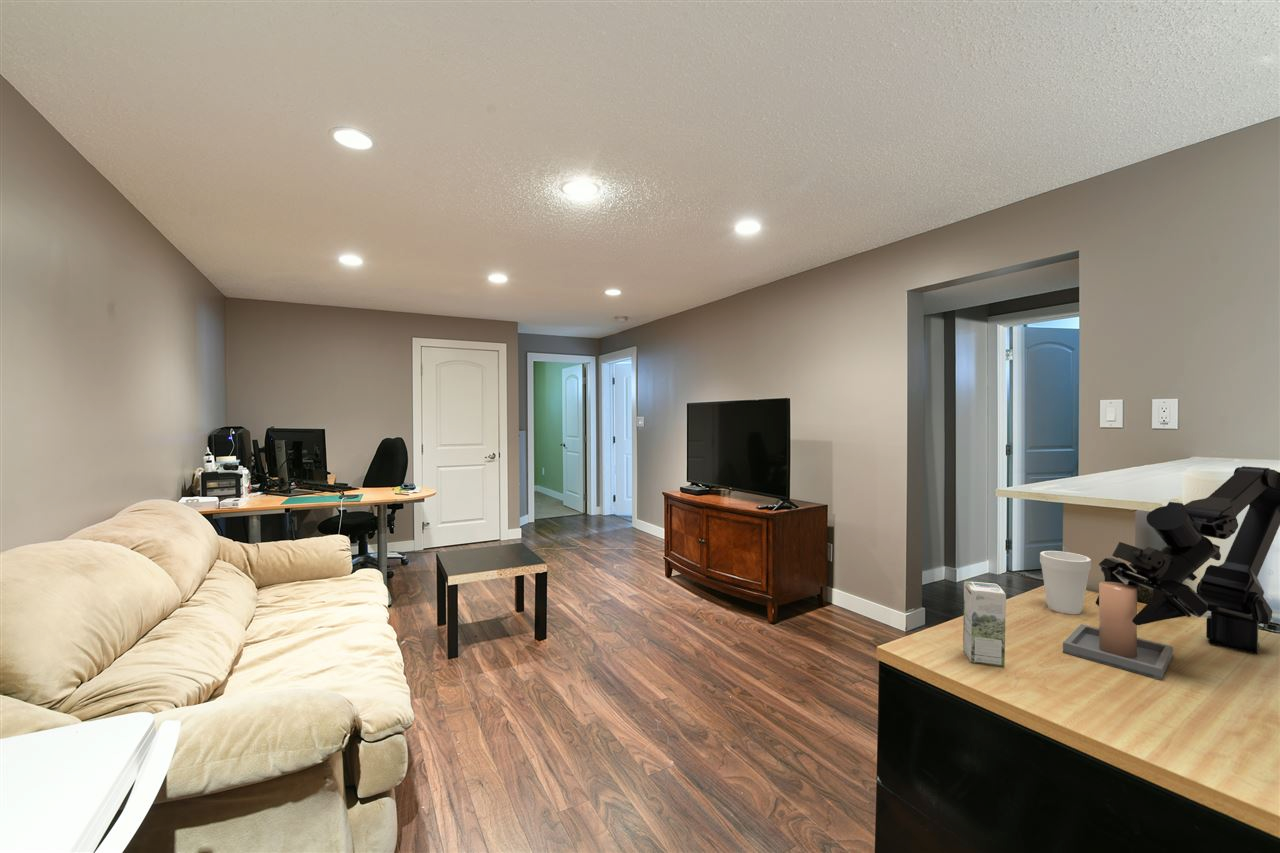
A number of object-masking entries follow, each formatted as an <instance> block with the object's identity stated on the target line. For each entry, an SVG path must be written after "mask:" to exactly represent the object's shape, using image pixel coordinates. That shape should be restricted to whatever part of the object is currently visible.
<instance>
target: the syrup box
mask: <svg viewBox="0 0 1280 853" xmlns="http://www.w3.org/2000/svg"><path fill="white" fill-rule="evenodd" d="M1006 610H1007V594H1006V593H1005V591H1004V590H1003V589H1002V587H1001V586H999V585H998V584H997V583H991V582H990V583H989V582H982V581H981V582H980V581H979V582H978V581H969V580H965V581H963V631H962V632H963V633H962V634H963V635H962V636H963V637H962V641H963V642H962V643H963V644H962V649H963V651H964V653H965V655H966V656H967V659H969V661H970V663H972V664H973V663H974V664H981V665H986V666H988V665H989V666H996V667H1005V665H1006V663H1005V662H1006V657H1005V655H1006V618H1007V615H1006V614H1007V612H1006Z"/></svg>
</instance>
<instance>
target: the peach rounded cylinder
mask: <svg viewBox="0 0 1280 853" xmlns="http://www.w3.org/2000/svg"><path fill="white" fill-rule="evenodd" d="M1098 583H1099V584H1098V585H1099V586H1098V596H1099V606H1098V628H1099V648H1100V649H1101V650H1102V651H1104V652H1107V653H1110V654H1114V655H1118V656H1122V657H1125V658H1134V657H1137V638H1138V625H1135V624H1134V623H1133V622H1132V620H1133V619H1134V617H1135V616H1136V615H1137V614H1138V587H1137V588H1135V587H1133V586H1131V585H1127V584H1123V583H1117V582H1104V581H1100V582H1098Z"/></svg>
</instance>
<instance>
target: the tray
mask: <svg viewBox="0 0 1280 853" xmlns="http://www.w3.org/2000/svg"><path fill="white" fill-rule="evenodd" d="M1062 653H1063V654H1067V655H1071V656H1074V657H1076V658H1077V657H1078V658H1082V659H1085V660H1089V661H1092V662H1095V663H1098V664H1103V665H1106V666H1110V667H1114V668H1117V669H1120V670H1124V671H1128V672H1129V673H1130V672H1132V673H1133V674H1138V675H1142V676H1143V677H1144V676H1146V677H1149V678H1152V679H1156V680H1159V681H1162V680H1163V678H1164V676H1165V674H1166V672H1167V670H1168V669H1169V666H1170V664H1171V661H1172V660H1173V657H1174V645H1173V646H1172V645H1168V644H1165V643H1161V642H1156V641H1152V640H1149V639H1143V638H1140V637H1137V657H1134V658H1125V657H1122V656H1118V655H1114V654H1110V653H1107V652H1104V651H1102V650H1101V649H1100V648H1099V627H1095V626H1092V625H1086V624H1082V623H1080V624H1079V626H1077V627H1076V629H1075V630H1074V631H1072V633H1071V634H1070V635H1069V636H1067V638H1066V639H1065V640H1064V641H1063V642H1062Z"/></svg>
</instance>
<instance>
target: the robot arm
mask: <svg viewBox="0 0 1280 853" xmlns="http://www.w3.org/2000/svg"><path fill="white" fill-rule="evenodd" d="M1248 505H1249V507H1248ZM1247 507H1248V509H1247V511H1246V513H1245V516H1244V518H1243V520H1242V522H1241V524H1240V526H1239V522H1238V519H1237V517H1238V515H1239V514H1240V513H1241V512H1242V511H1243V510H1245V508H1247ZM1146 523H1147V524H1148V525H1149V527H1150V528H1151V529H1152V530H1153V532H1154V533H1155V534H1156V536H1157V537H1158V538H1159V539H1160V540H1161V542H1162V543H1164V544H1165V545H1164V546H1163V547H1161V549H1160V550H1159V549H1156V548H1154V547H1150V546H1147V547H1145V549H1143V548H1140V547H1137V546H1134V545H1130V544H1127V543H1125V542H1121V541H1119V542H1118V544H1117V545H1116V548H1115V549H1114V551H1113V553H1112V555H1111V556H1112V557H1105V558H1104V559H1102V561H1101V562H1099V563H1098V566H1099V567H1100V571H1101V572H1102V573H1103V577H1104V581H1103V582H1117V583H1123V584H1127V585H1131V586H1133V587H1135V588H1137V589H1138V587H1140V586H1141V587H1144V588H1146V589H1149V590H1150V591H1152V597H1151V600H1150V601H1149V602H1148V603H1147V604H1146V605H1145V606H1144V607H1143V608H1142V609H1141V610H1140V611H1139V612H1137V615H1136V616H1135V617H1134V619H1133V620H1132V622H1133V623H1134V624H1135V625H1137V626H1141V625H1146V624H1151V623H1155V622H1160V621H1165V620H1170V619H1177V618H1183V617H1185V618H1186V617H1187V618H1191V617H1192V615H1193V616H1195V617H1197V618H1200V617H1202V616H1203V615H1204V614H1206V613H1207V612H1210V615H1207V617H1206V627H1205V628H1206V630H1205V631H1206V632H1205V633H1206V635H1205V637H1206V638H1207V639H1208V644H1210V645H1212V646H1213V645H1214V646H1218V647H1222V648H1227V649H1230V650H1235V651H1240V652H1243V653H1247V654H1248V653H1249V654H1252V655H1259V649H1260V643H1259V625H1271V620H1272V618H1273V610H1272V608H1271V606H1270V604H1269V603H1268V602H1267V601H1266V599H1265V598H1264V595H1265V590H1264V588H1263V586H1262V585H1261V582H1260V580H1259V578H1258V577H1259V574H1260V571H1261V569H1262V566H1263V565H1264V563H1265V560H1266V558H1267V556H1268V553H1269V551H1270V548H1271V547H1272V545H1273V542H1274V540H1275V537H1276V535H1277V533H1278V530H1279V528H1280V472H1279V471H1277V470H1275V469H1271V468H1270V467H1262V466H1261V467H1259V466H1258V467H1256V466H1246V465H1243V466H1241V467H1239V466H1238V467H1236V468H1235V470H1234V471H1233V474H1232V476H1230V478H1228V479H1226V481H1225V482H1224V483H1223V484H1221V485H1219V487H1218V488H1217V489H1215V491H1213V492H1212V493H1211V494H1210V495H1209V496H1208V497H1205V498H1199V499H1195V500H1191V501H1189V502H1188V503H1185V504H1183V502H1174V501H1168V503H1167V505H1164V506H1159V507H1156V508H1155V509H1153V510H1151V511H1150V512H1148V513H1147V515H1146ZM1238 528H1239V529H1238ZM1236 531H1237V533H1236ZM1235 533H1236V535H1235V538H1234V539H1233V542H1232V544H1231V546H1230V548H1229V551H1228V553H1227V555H1226V557H1225V559H1224V562H1223V563H1222V564H1219V565H1213V564H1209V565H1208V566H1207V567H1206V568H1205V571H1204V574H1203V575H1202V578H1200V581H1199V582H1198V583H1197V586H1196V591H1195V590H1194V589H1193V588H1192V587H1190V586H1189V585H1187V584H1185V583H1183V582H1185V581H1186V580H1189V581H1192V582H1194V581H1195V580H1197V578H1198V577H1197V575H1195V574H1194V573H1195V572H1196V571H1197V570H1199V568H1201V567H1202V566H1203V565H1204V564H1206V563H1207V562H1208V561H1209V560H1210V559H1212V560H1215V561H1220V560H1221V559H1222V558H1221V557H1222V555H1221V552H1220V550H1221V547H1220V545H1219V544H1215V543H1213V541H1211V539H1209V538H1212V539H1213V538H1214V539H1219V540H1228V539H1229V538H1230V537H1231V536H1232V535H1234V534H1235ZM1113 557H1114V558H1113ZM1118 558H1119V559H1121V560H1124V561H1126V562H1127V563H1130V564H1126V563H1125V562H1123V561H1121V560H1118ZM1134 570H1135V571H1136V572H1135V571H1134ZM1094 602H1095V604H1096V605H1097V607H1099V595H1098V596H1097V598H1096V600H1095V601H1094Z"/></svg>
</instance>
